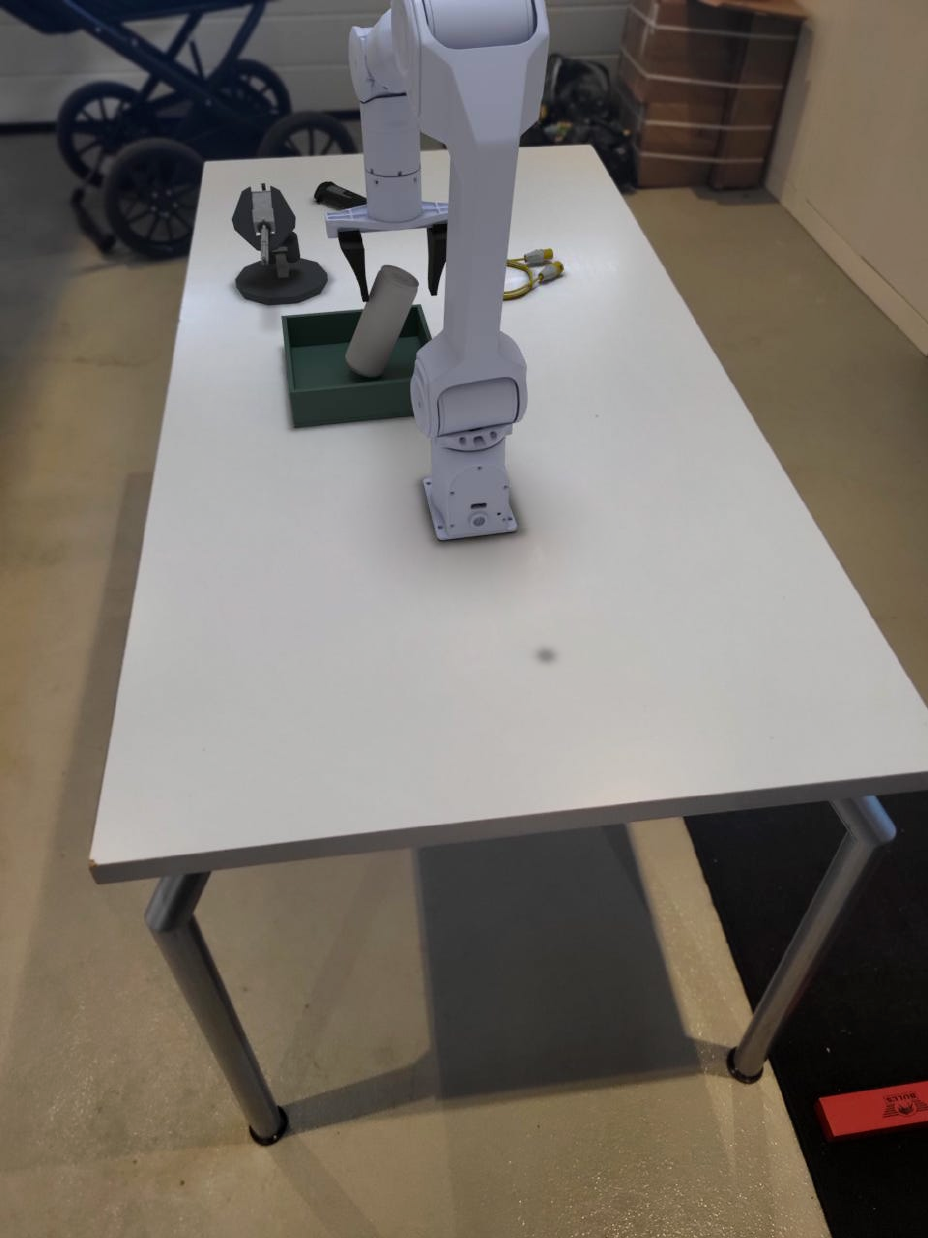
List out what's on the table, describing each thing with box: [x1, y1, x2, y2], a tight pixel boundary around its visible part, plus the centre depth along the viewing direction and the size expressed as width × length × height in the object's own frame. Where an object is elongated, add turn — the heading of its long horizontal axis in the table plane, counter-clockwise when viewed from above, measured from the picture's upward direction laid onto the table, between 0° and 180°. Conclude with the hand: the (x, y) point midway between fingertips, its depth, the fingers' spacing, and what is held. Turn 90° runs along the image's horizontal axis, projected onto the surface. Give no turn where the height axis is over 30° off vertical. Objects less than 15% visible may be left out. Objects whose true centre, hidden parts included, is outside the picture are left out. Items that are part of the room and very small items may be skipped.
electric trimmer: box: [313, 180, 367, 210], centre depth 138 cm, size 4×16×3 cm, turn 47°
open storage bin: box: [280, 303, 433, 428], centre depth 104 cm, size 17×17×4 cm
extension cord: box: [503, 247, 565, 300], centre depth 123 cm, size 12×16×2 cm
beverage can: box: [345, 264, 420, 378], centre depth 101 cm, size 5×5×12 cm
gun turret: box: [231, 182, 329, 306], centre depth 116 cm, size 13×20×13 cm, turn 9°
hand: (398, 294), depth 99 cm, fingers open, 7 cm apart
